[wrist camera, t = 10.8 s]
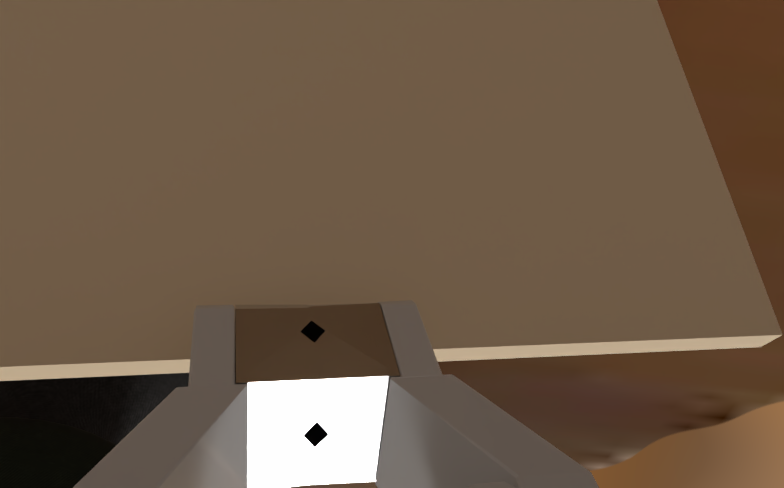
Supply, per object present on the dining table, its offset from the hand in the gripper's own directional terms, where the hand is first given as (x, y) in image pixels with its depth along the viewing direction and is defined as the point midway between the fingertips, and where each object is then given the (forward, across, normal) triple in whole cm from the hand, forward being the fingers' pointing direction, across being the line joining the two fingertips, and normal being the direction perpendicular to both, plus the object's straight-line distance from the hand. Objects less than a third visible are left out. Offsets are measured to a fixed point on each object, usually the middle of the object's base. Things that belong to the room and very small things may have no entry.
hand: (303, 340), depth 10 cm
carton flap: (+8, 0, +4) cm, 9 cm away
